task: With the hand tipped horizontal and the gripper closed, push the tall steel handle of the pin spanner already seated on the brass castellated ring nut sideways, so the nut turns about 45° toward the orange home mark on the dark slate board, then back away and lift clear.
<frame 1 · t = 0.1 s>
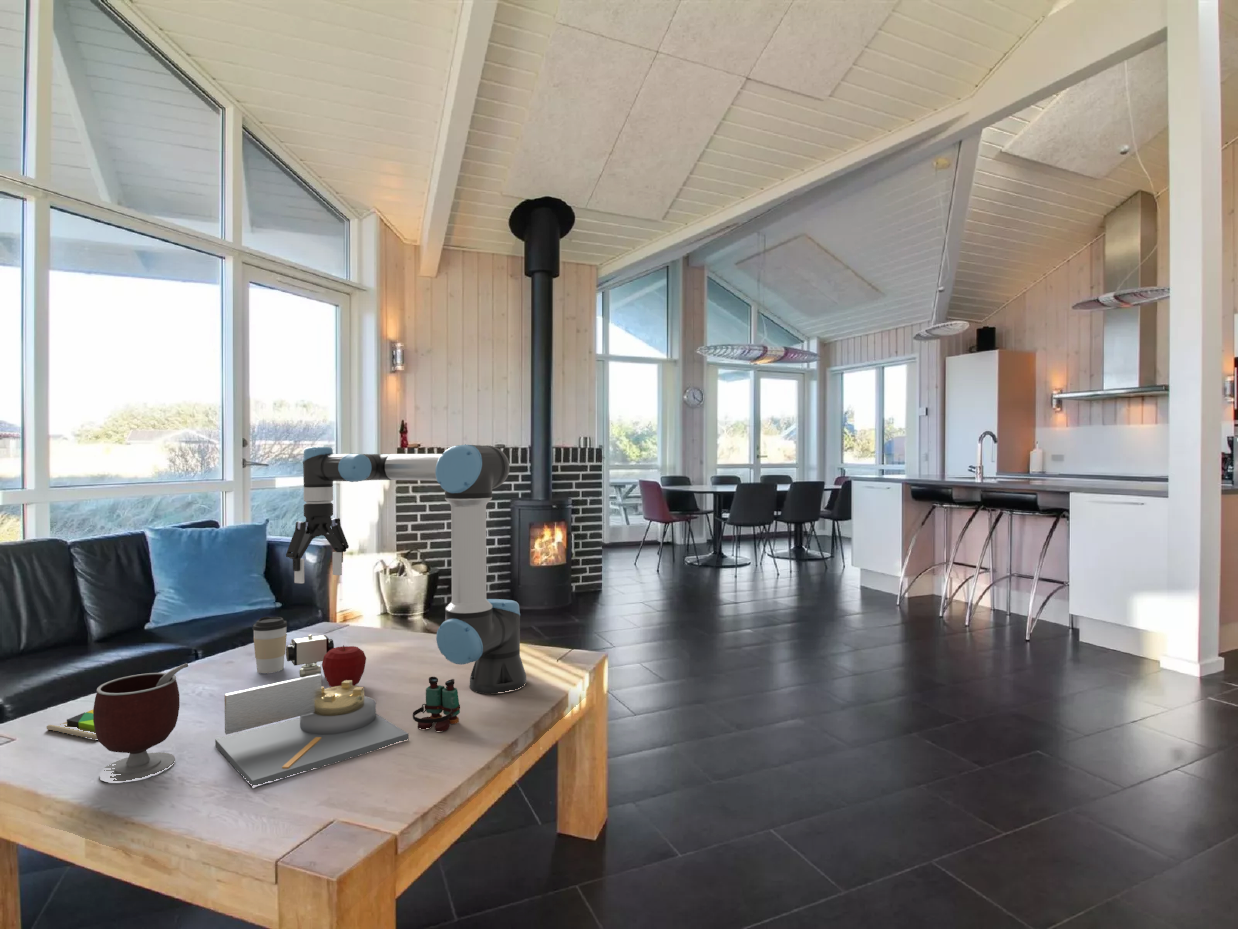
hand: (318, 578, 188), 28 cm above the table, tool pointing down, fingers open, 13 cm apart
nut housing: (338, 727, 155), on the table
mate gourd: (143, 769, 135), on the table
wooden puzzle: (113, 724, 159), on the table
apple: (344, 689, 181), on the table
binoculars: (436, 728, 155), on the table
ring nut: (298, 697, 149), point 9 cm above the table, hinge at 0.0°
pneumatic valve: (310, 677, 191), on the table
coffee cup: (270, 670, 197), on the table
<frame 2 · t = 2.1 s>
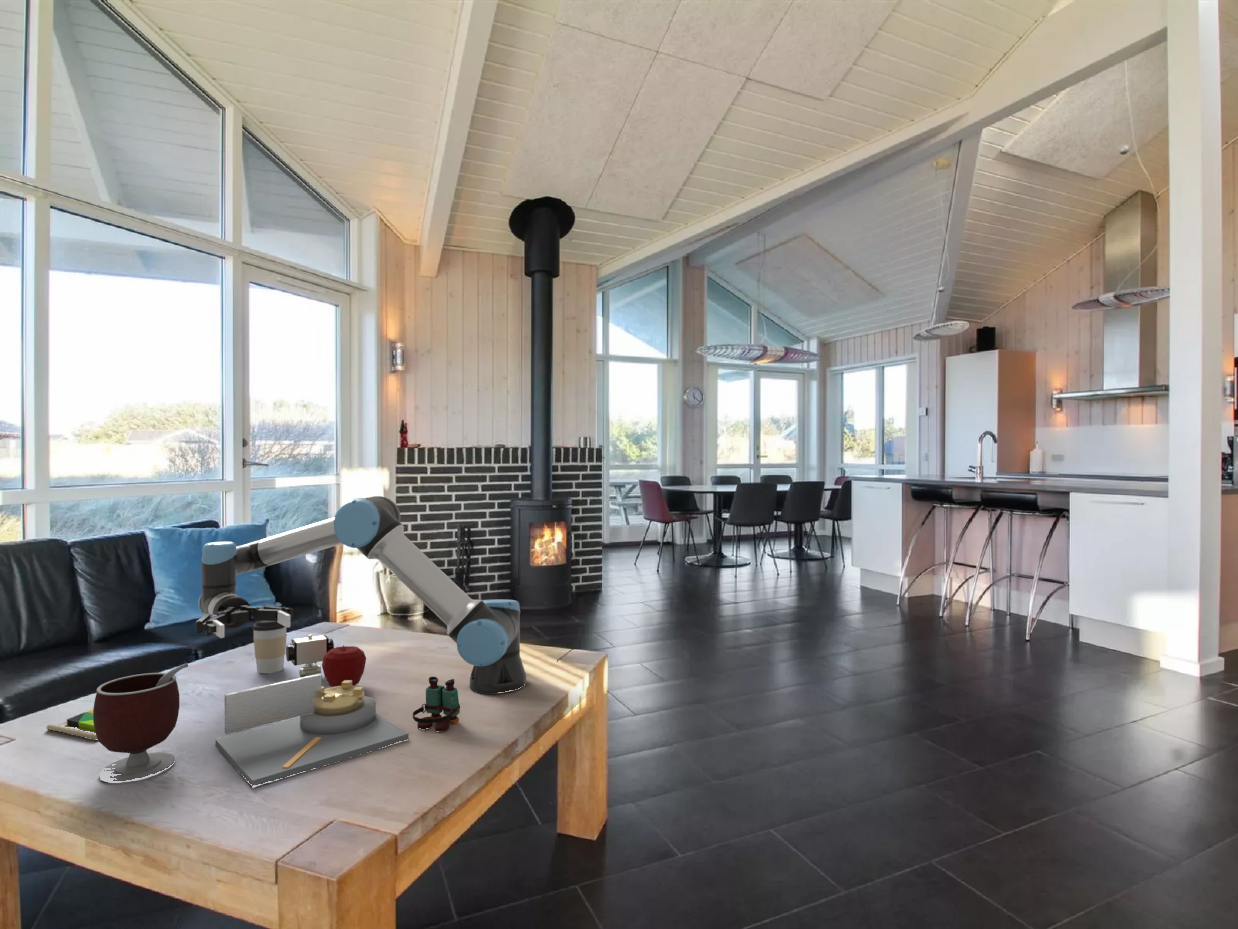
hand: (256, 626, 150), 24 cm above the table, tool horizontal, fingers open, 13 cm apart
nothing on the table moved.
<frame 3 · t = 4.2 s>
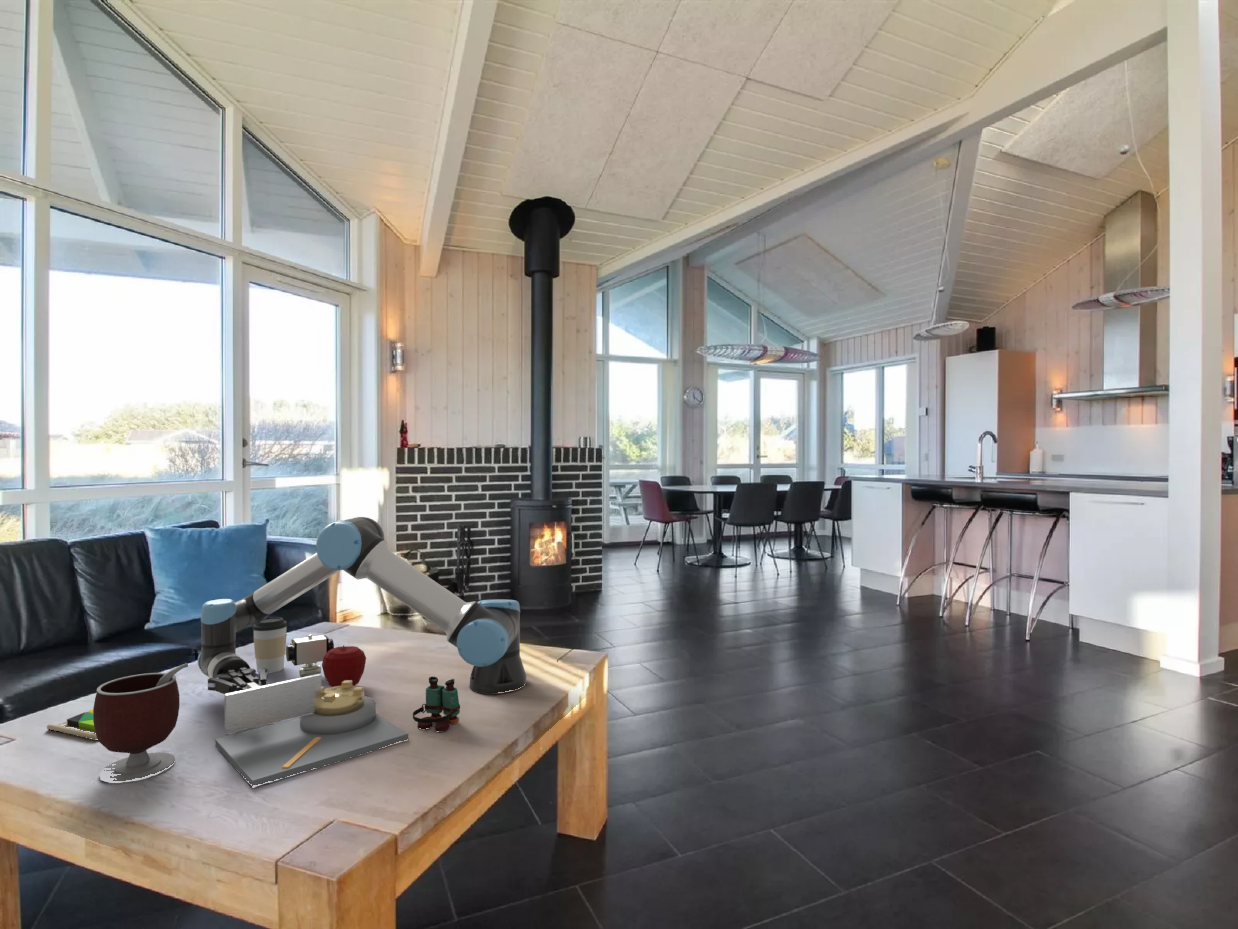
hand: (259, 696, 148), 9 cm above the table, tool horizontal, fingers closed
nothing on the table moved.
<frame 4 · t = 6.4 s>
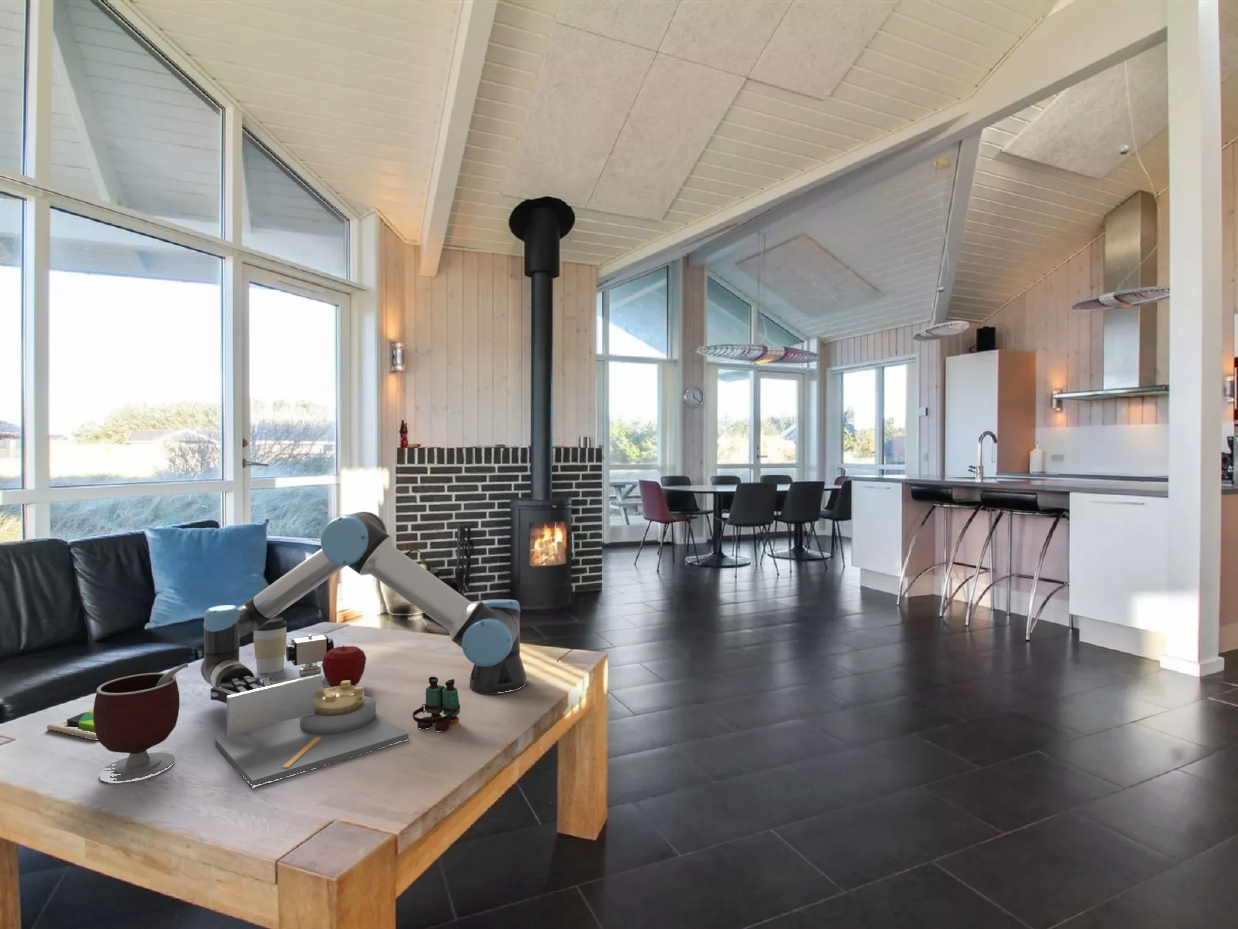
hand: (263, 706, 144), 9 cm above the table, tool horizontal, fingers closed
ring nut: (299, 698, 148), point 9 cm above the table, hinge at 4.0°, touching gripper
everything else where it was.
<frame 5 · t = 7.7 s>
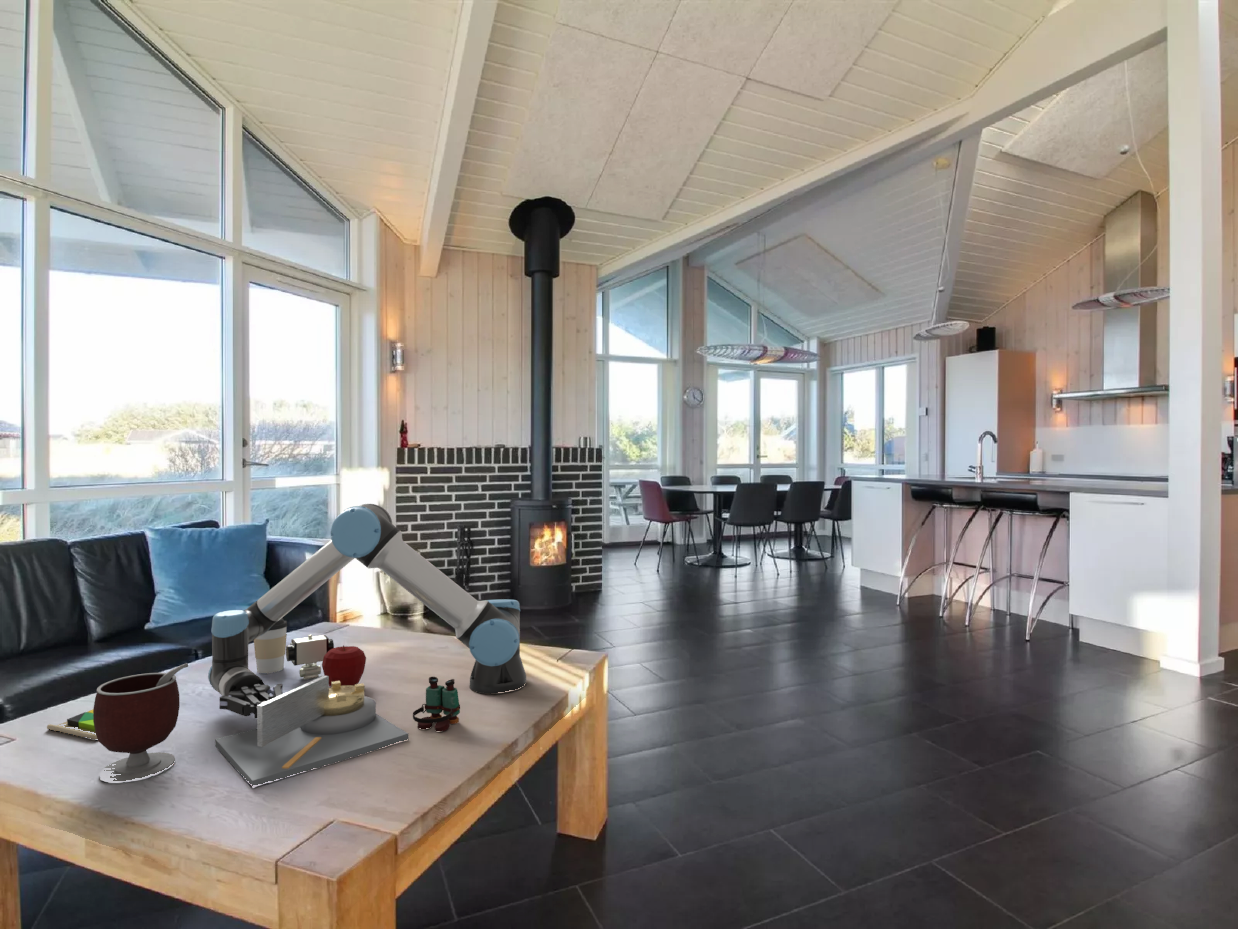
hand: (275, 716, 138), 9 cm above the table, tool horizontal, fingers closed
ring nut: (311, 701, 146), point 9 cm above the table, hinge at 30.3°, touching gripper
everything else where it was.
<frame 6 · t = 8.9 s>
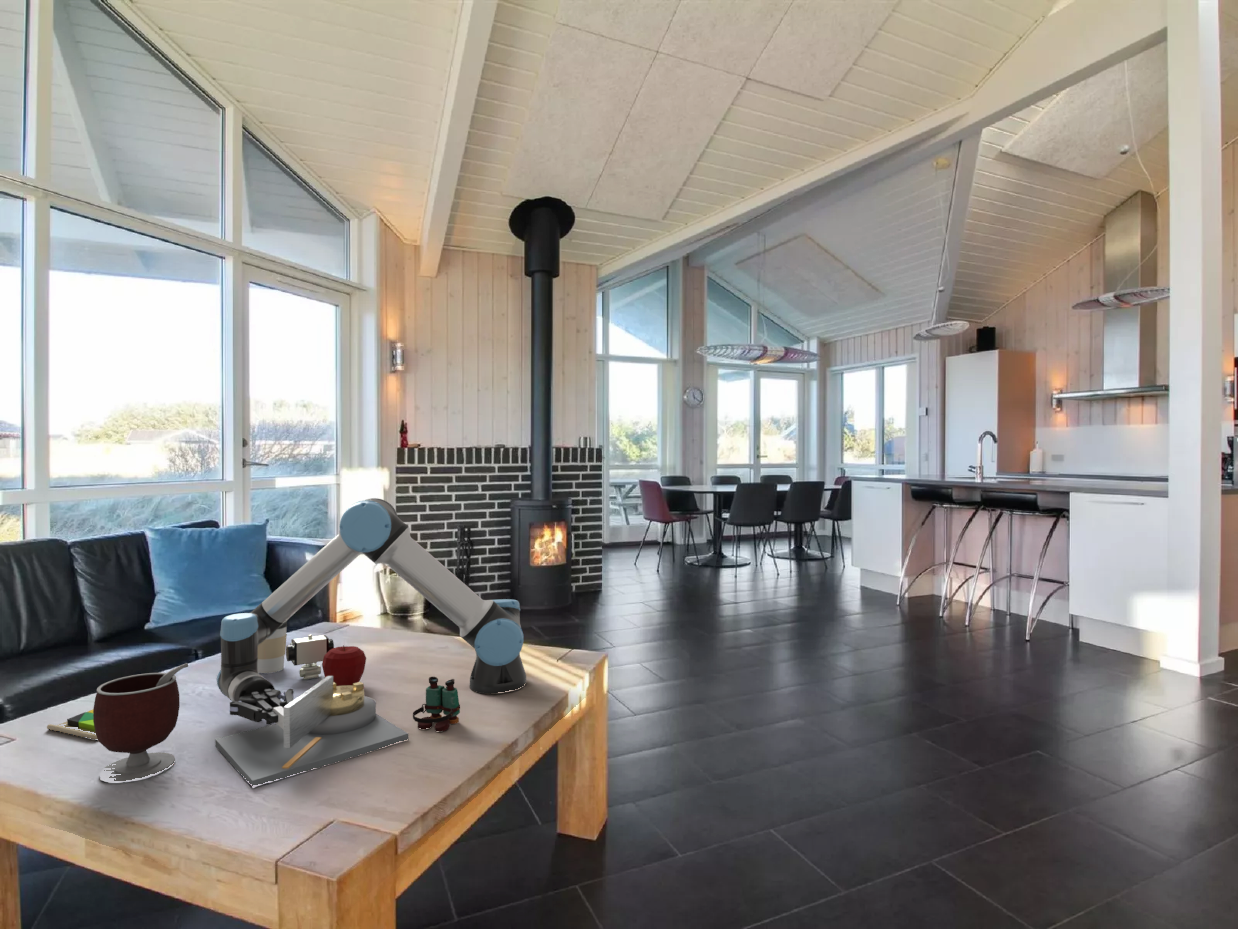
hand: (287, 722, 135), 9 cm above the table, tool horizontal, fingers closed
ring nut: (320, 702, 146), point 9 cm above the table, hinge at 44.6°, touching gripper
everything else where it was.
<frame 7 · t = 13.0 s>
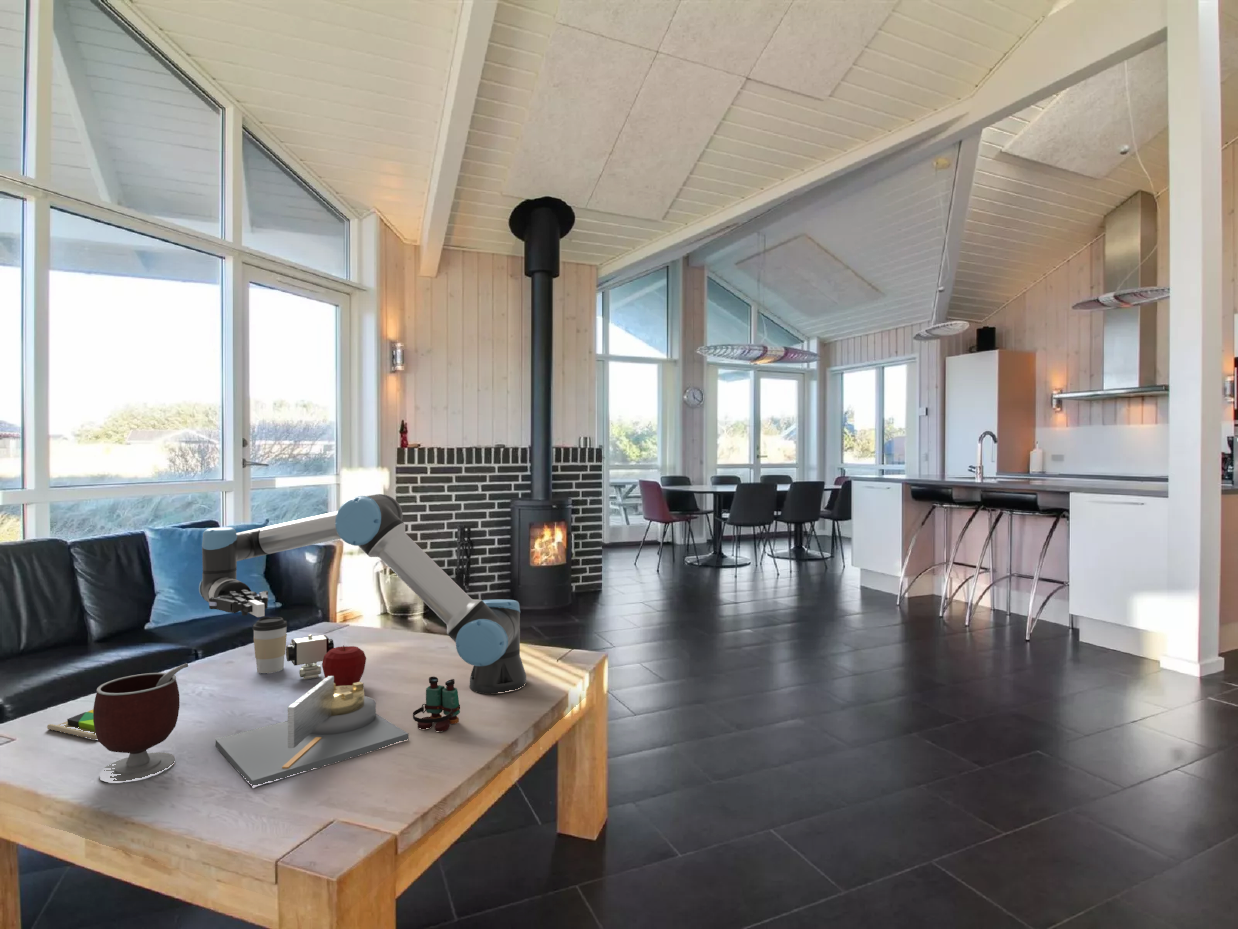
hand: (260, 610, 149), 28 cm above the table, tool horizontal, fingers closed
ring nut: (322, 702, 146), point 9 cm above the table, hinge at 46.7°
everything else where it was.
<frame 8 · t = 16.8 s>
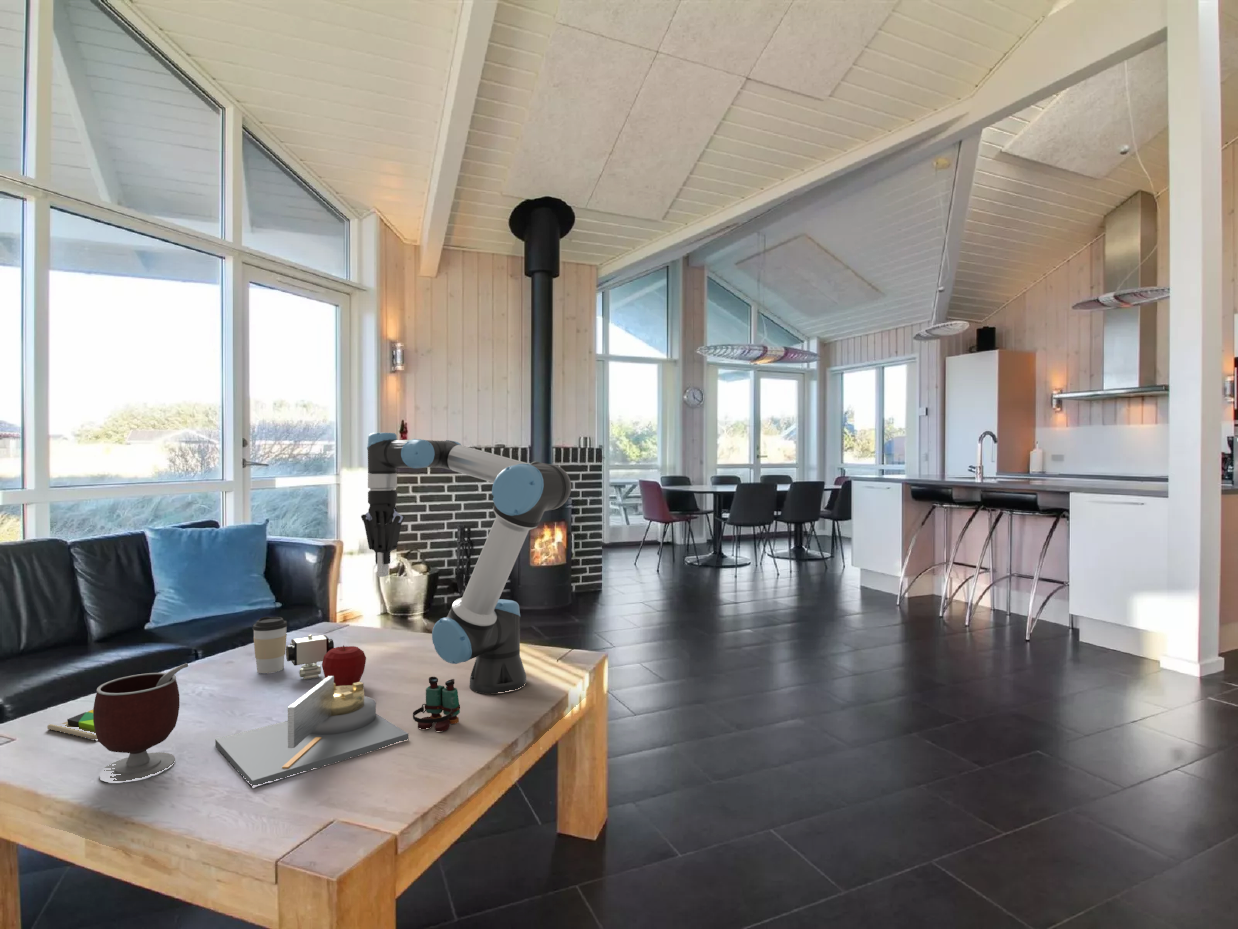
hand: (383, 575, 185), 29 cm above the table, tool pointing down, fingers closed
nothing on the table moved.
at the end: ring nut at +47° (first picture: +0°); the gripper is holding nothing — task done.
